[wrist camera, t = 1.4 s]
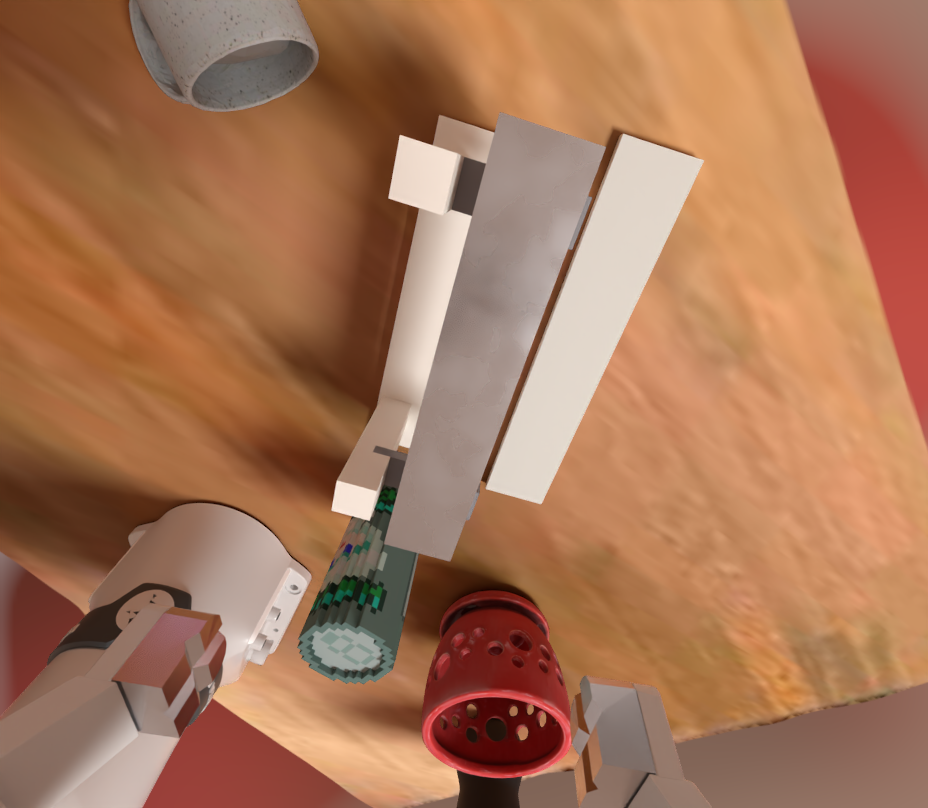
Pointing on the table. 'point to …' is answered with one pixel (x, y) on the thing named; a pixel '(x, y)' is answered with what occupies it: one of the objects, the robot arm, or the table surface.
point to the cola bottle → (488, 779)
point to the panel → (592, 310)
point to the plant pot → (495, 688)
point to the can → (361, 602)
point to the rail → (490, 324)
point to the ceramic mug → (224, 49)
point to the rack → (419, 300)
